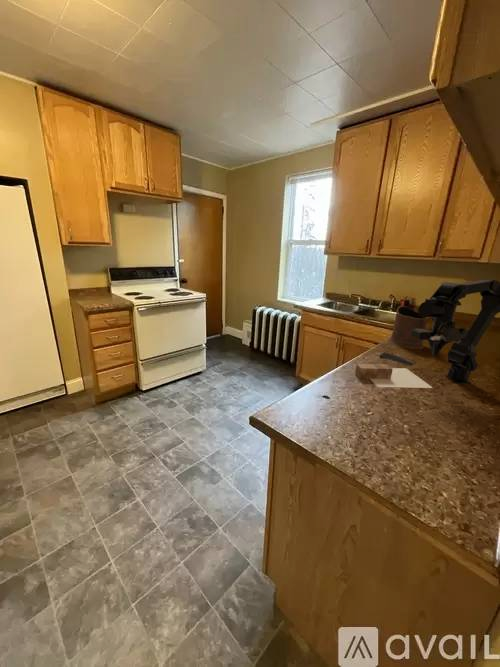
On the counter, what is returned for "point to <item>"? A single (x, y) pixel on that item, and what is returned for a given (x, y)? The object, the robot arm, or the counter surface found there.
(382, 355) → the phone
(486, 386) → the counter surface
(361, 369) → the walnut block
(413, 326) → the brown hollow rounded container
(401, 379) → the cutting board
